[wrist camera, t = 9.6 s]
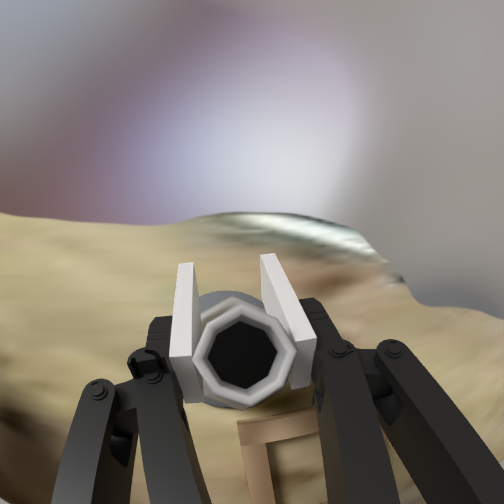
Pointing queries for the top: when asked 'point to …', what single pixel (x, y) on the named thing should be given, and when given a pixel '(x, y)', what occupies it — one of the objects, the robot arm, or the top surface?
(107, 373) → the top surface
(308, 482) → the top surface
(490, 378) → the top surface
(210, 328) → the flask
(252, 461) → the holder
